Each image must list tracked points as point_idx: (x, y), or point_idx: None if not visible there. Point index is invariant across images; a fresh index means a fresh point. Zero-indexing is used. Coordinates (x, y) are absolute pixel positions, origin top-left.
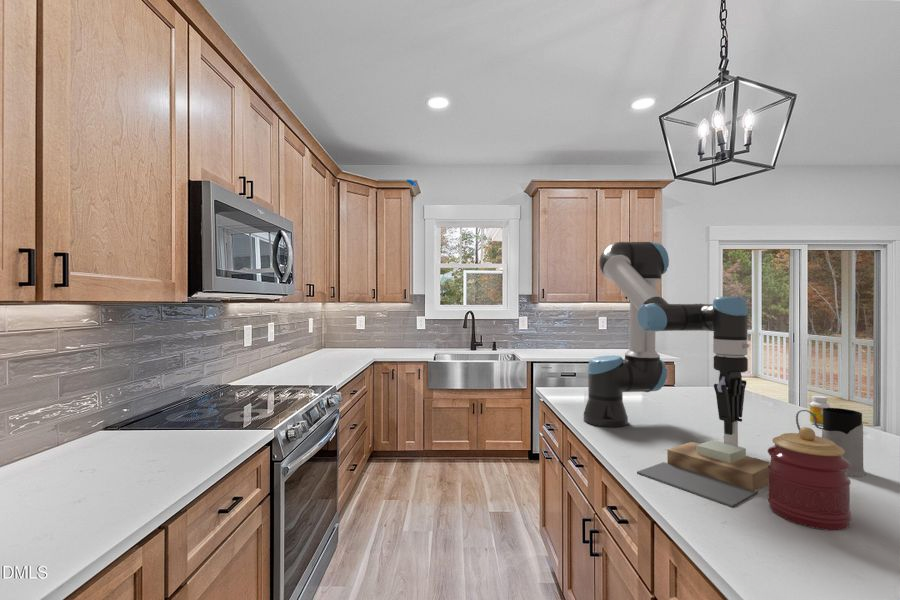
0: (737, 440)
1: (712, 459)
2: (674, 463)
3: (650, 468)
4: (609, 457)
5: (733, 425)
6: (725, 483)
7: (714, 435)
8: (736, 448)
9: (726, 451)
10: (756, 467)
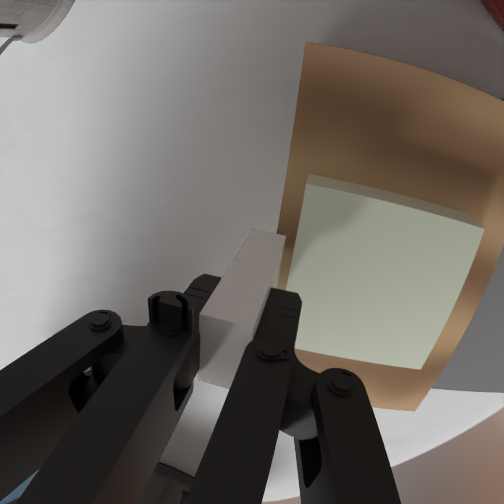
0: (249, 245)
1: None
2: None
3: (475, 386)
4: (422, 452)
5: (257, 320)
6: None
7: (36, 316)
8: (353, 223)
9: (448, 253)
10: (448, 105)
